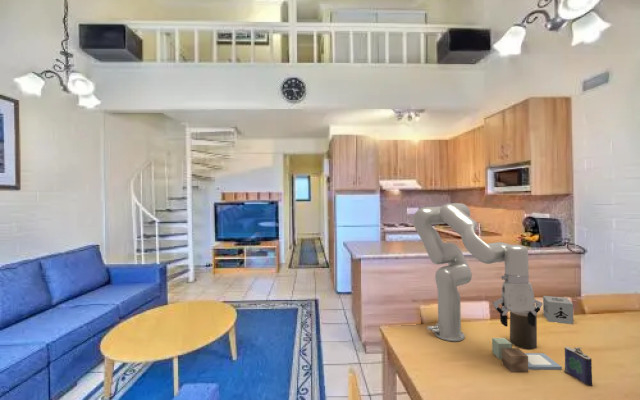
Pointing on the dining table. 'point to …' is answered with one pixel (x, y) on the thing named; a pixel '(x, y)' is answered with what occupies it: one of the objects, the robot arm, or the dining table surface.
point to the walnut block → (515, 360)
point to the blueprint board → (541, 362)
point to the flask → (578, 365)
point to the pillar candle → (522, 330)
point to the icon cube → (558, 309)
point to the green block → (499, 346)
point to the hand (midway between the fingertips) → (517, 325)
